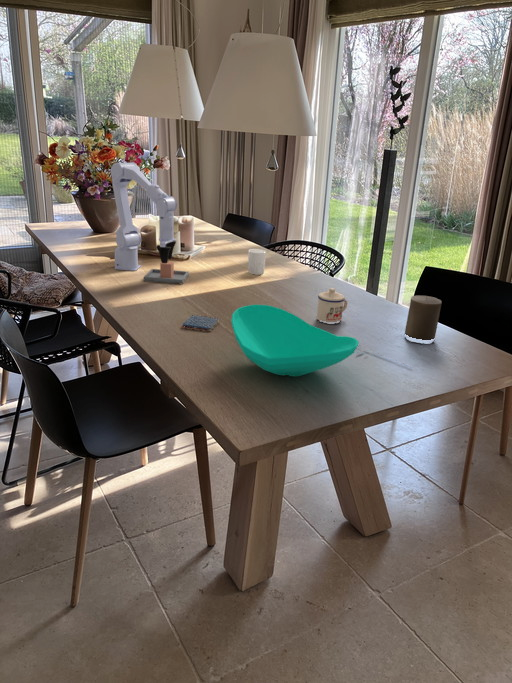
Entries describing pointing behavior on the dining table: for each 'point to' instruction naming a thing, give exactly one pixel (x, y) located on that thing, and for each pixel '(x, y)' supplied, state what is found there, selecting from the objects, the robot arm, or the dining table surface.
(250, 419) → the dining table surface
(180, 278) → the grey tray
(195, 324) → the woven mat
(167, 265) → the tan block
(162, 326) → the dining table surface
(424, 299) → the pillar candle
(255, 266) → the white cup
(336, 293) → the teacup with lid
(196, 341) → the dining table surface
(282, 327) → the table top decor
